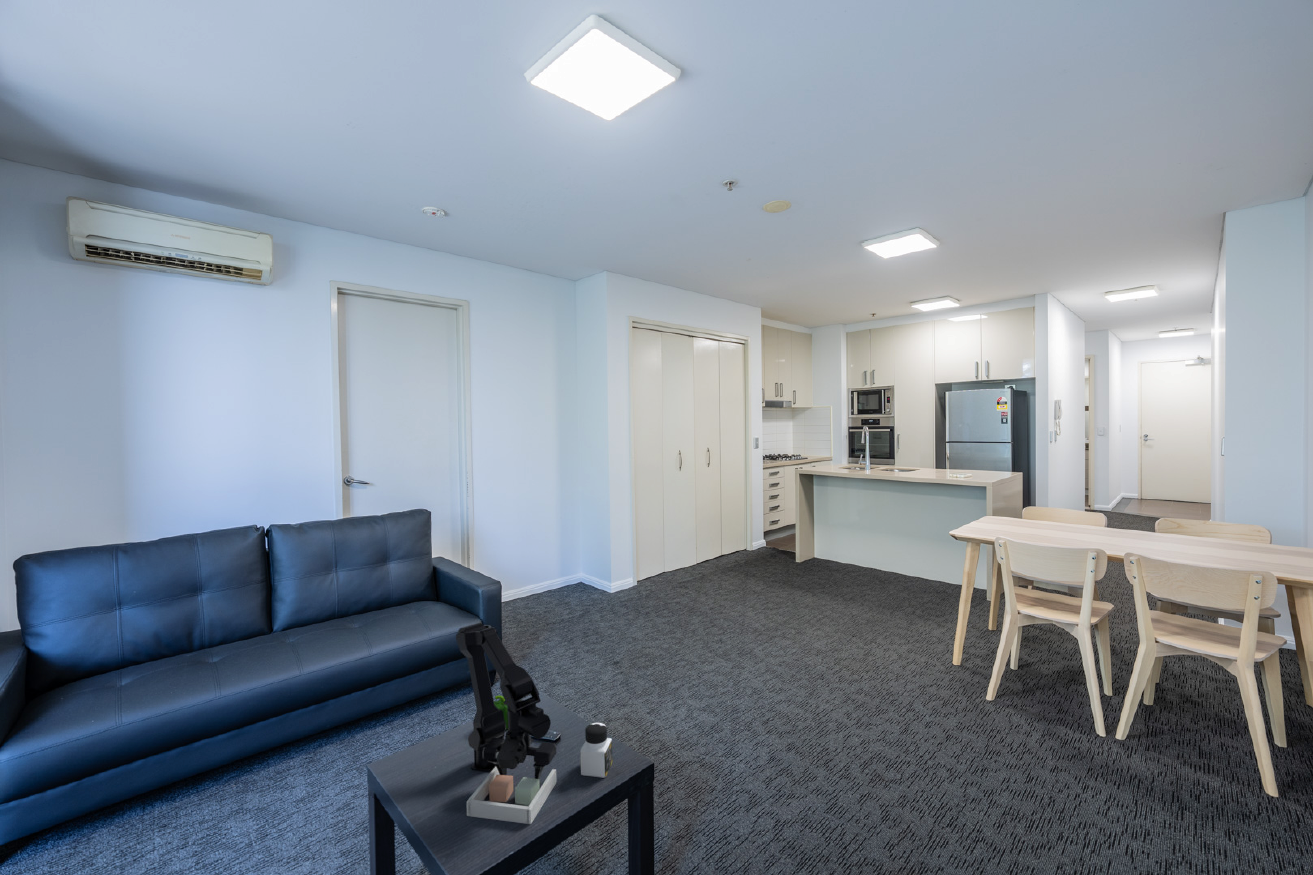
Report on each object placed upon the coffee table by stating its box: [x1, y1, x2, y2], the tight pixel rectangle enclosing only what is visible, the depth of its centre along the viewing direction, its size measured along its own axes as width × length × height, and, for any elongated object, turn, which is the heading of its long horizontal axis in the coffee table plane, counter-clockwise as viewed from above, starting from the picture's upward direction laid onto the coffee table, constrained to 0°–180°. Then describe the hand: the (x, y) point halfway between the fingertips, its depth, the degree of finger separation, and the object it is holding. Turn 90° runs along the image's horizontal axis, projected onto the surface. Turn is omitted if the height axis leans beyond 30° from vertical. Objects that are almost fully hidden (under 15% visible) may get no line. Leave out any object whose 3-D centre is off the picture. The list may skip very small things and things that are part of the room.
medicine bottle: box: [579, 722, 613, 779], centre depth 151 cm, size 7×7×12 cm
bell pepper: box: [494, 695, 508, 730], centre depth 176 cm, size 8×8×10 cm
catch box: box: [466, 767, 557, 825], centre depth 140 cm, size 17×16×4 cm
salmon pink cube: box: [488, 774, 514, 803], centre depth 141 cm, size 4×4×4 cm
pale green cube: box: [514, 776, 541, 806], centre depth 139 cm, size 4×4×4 cm
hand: (520, 782), depth 144 cm, fingers open, 9 cm apart
